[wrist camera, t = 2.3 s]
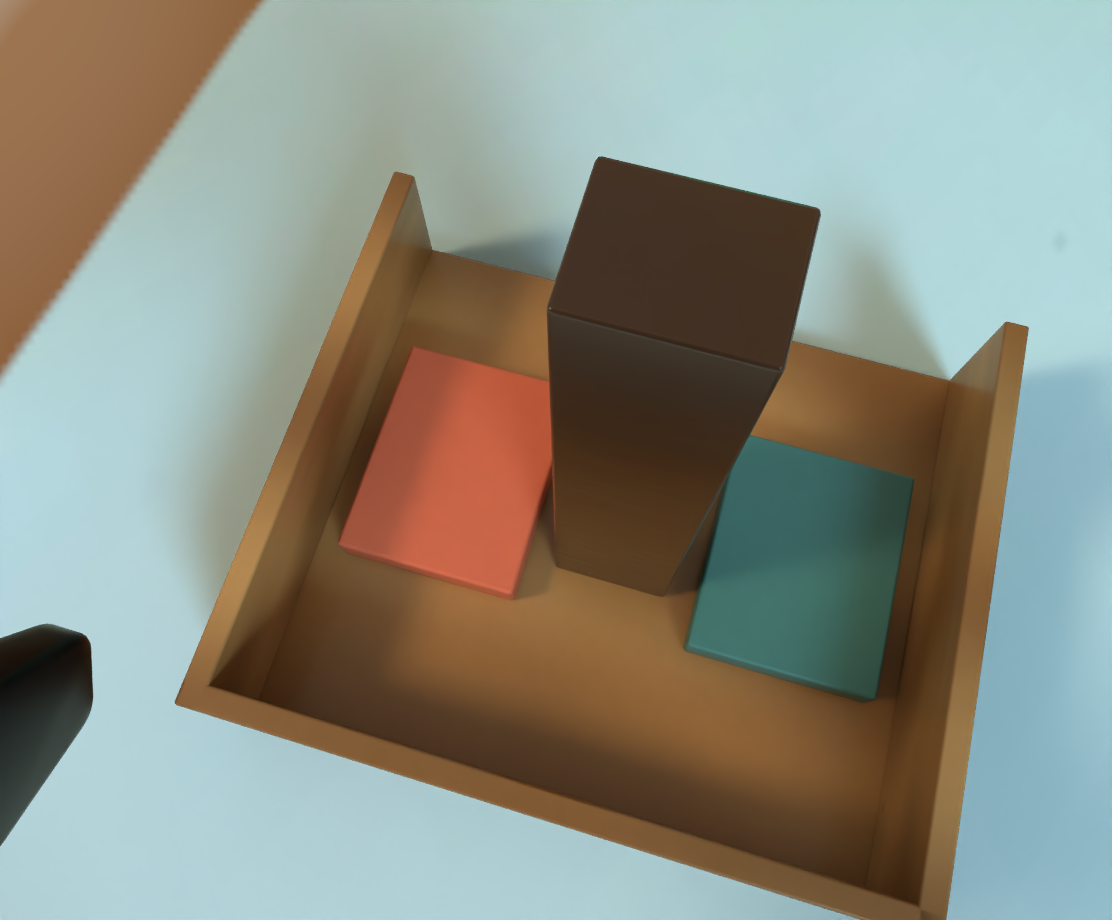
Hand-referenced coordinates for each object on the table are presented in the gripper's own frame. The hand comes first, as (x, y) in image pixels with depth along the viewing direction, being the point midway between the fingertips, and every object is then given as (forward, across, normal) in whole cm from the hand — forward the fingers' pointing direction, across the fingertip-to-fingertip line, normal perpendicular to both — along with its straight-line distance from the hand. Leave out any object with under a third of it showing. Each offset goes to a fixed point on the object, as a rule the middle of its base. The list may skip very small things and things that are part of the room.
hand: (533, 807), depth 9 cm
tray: (+12, 0, +4) cm, 13 cm away
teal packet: (+12, -4, +4) cm, 13 cm away
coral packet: (+12, +4, +4) cm, 13 cm away
